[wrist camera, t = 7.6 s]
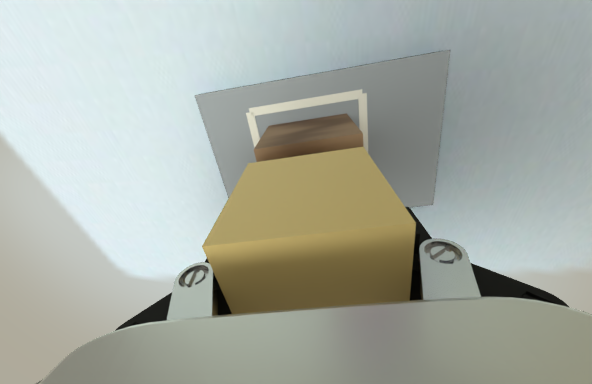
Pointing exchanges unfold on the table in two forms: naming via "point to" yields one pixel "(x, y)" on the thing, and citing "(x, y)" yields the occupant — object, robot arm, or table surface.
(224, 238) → the ochre block
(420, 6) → the table surface
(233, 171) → the board
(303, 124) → the walnut block
